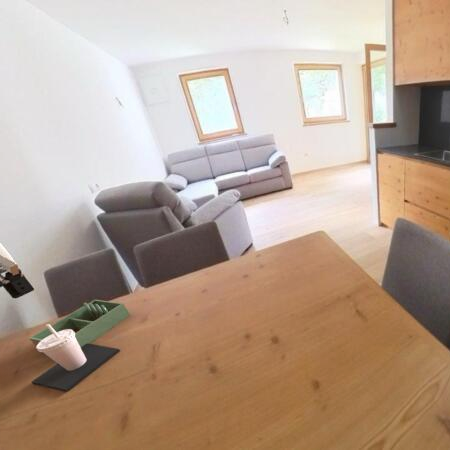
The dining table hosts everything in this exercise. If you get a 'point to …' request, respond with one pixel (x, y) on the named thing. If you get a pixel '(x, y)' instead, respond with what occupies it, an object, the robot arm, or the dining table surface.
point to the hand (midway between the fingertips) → (9, 291)
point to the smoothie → (63, 348)
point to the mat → (68, 379)
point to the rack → (81, 321)
